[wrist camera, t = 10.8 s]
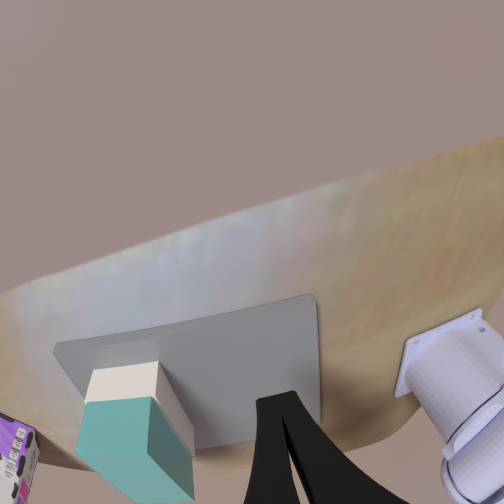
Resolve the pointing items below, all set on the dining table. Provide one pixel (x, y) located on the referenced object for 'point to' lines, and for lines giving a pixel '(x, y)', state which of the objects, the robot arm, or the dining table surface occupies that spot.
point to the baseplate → (206, 368)
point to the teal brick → (136, 450)
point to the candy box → (16, 460)
